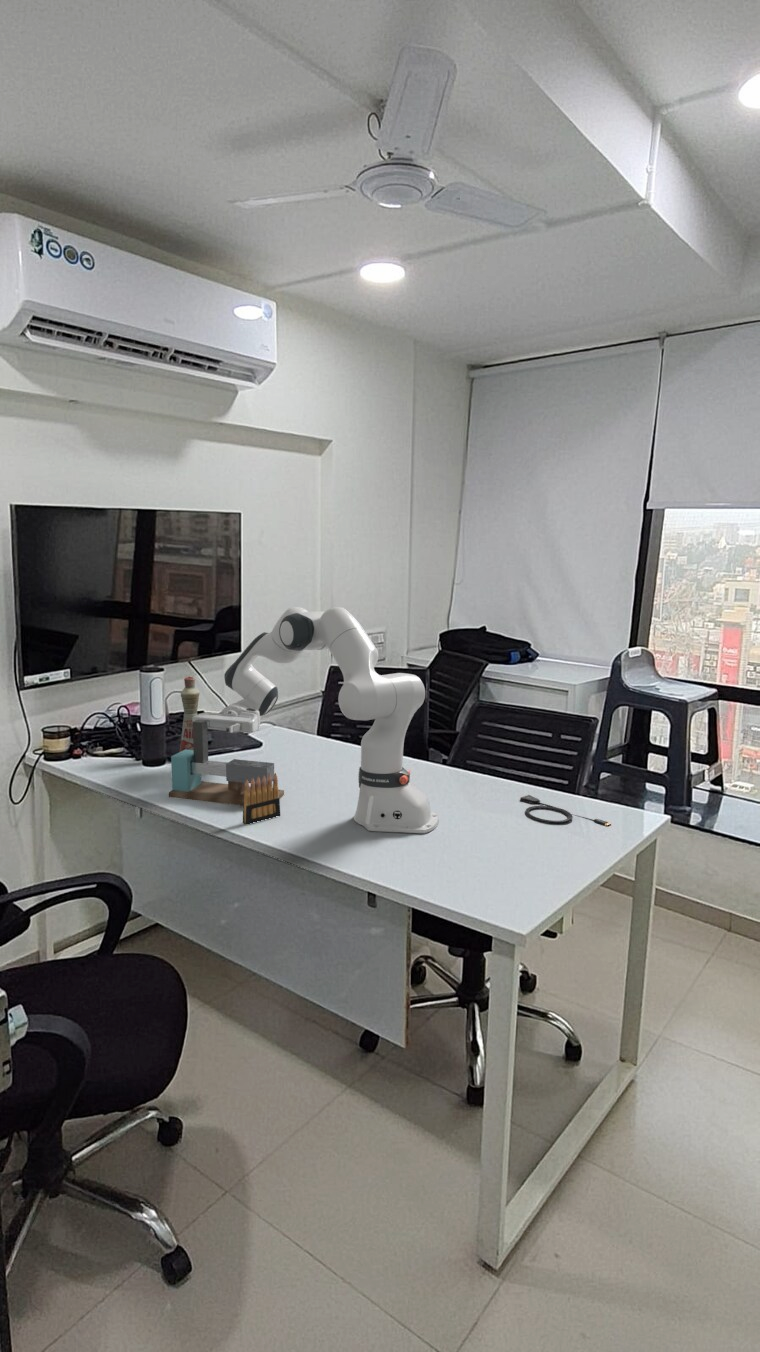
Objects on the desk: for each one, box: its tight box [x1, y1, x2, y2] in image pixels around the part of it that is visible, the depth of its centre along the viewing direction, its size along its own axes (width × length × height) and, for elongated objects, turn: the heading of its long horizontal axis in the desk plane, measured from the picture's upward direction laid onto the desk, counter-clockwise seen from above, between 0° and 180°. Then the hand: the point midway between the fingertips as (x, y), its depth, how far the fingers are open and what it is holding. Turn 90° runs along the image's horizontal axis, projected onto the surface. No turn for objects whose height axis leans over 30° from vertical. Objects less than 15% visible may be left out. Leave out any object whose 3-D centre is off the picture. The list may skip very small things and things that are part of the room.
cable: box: [519, 794, 612, 827], centre depth 212 cm, size 14×28×2 cm, turn 41°
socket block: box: [170, 749, 202, 792], centre depth 226 cm, size 5×8×10 cm, turn 164°
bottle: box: [179, 675, 200, 752], centre depth 259 cm, size 9×9×28 cm
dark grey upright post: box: [190, 720, 228, 778], centre depth 223 cm, size 19×3×15 cm, turn 74°
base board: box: [168, 780, 285, 807], centre depth 223 cm, size 30×12×6 cm, turn 74°
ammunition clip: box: [242, 772, 281, 825], centre depth 205 cm, size 11×2×12 cm, turn 132°
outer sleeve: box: [225, 758, 275, 785], centre depth 220 cm, size 12×5×5 cm, turn 74°
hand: (213, 728), depth 231 cm, fingers open, 8 cm apart
